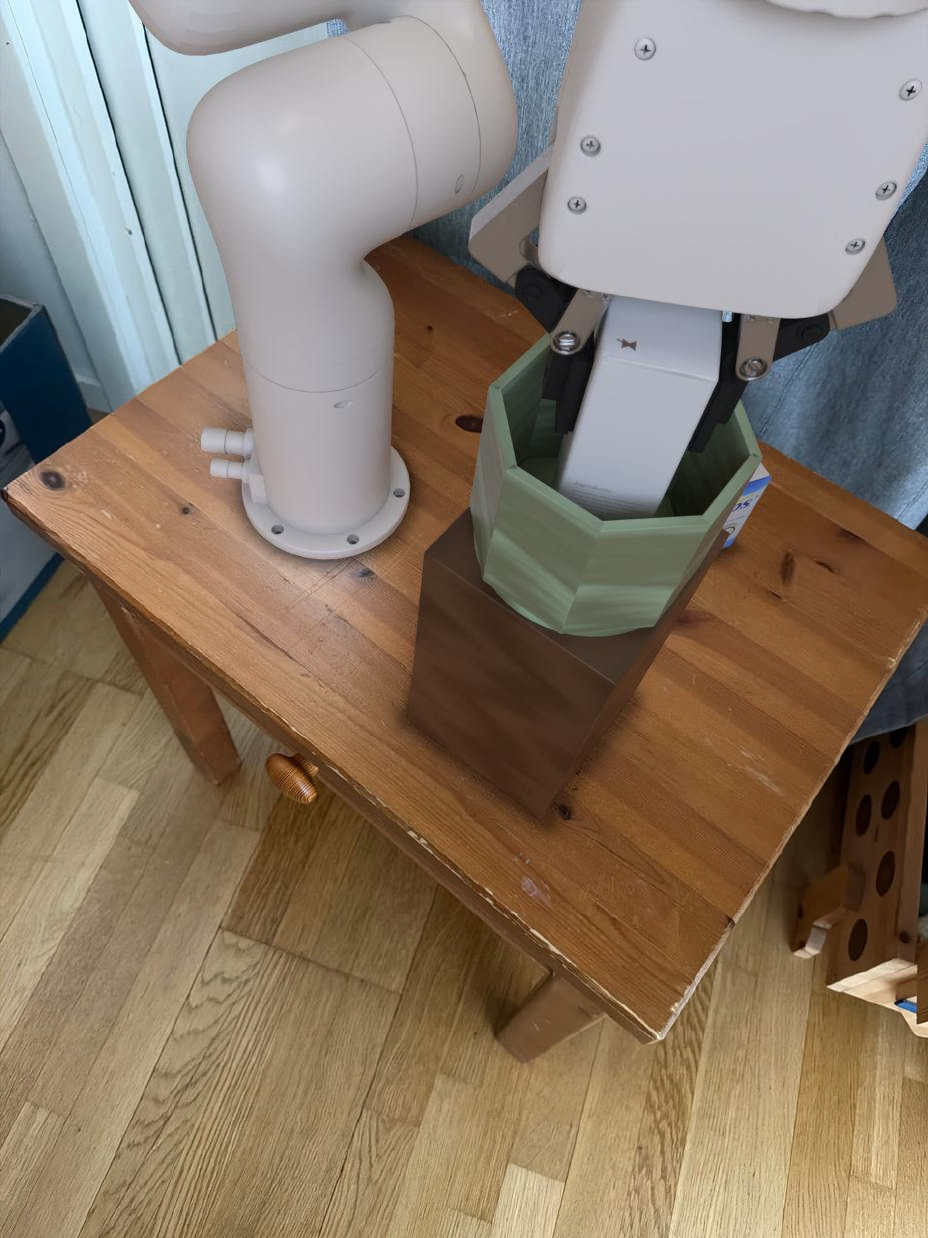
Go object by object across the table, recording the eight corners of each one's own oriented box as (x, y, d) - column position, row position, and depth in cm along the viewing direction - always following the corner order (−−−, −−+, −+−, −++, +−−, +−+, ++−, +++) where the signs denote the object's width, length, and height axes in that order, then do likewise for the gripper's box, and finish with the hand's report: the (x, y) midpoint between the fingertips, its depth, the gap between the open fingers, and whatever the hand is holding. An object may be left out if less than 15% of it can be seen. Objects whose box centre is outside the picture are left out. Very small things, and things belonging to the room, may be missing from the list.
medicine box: (644, 577, 67) (678, 507, 60) (616, 531, 69) (646, 458, 62) (731, 547, 70) (775, 476, 62) (702, 503, 71) (741, 430, 64)
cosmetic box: (629, 576, 40) (721, 384, 30) (536, 555, 40) (595, 356, 30) (642, 473, 43) (730, 266, 33) (556, 454, 43) (616, 242, 33)
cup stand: (407, 719, 60) (434, 429, 35) (502, 610, 65) (586, 289, 40) (540, 820, 57) (672, 583, 33) (630, 699, 62) (803, 414, 37)
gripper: (1143, -150, 22) (822, 378, 38) (475, -260, 22) (429, 322, 38) (1246, 4, 19) (843, 520, 34) (442, -124, 18) (407, 460, 34)
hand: (628, 413), depth 36 cm, fingers closed on cosmetic box, 4 cm apart
